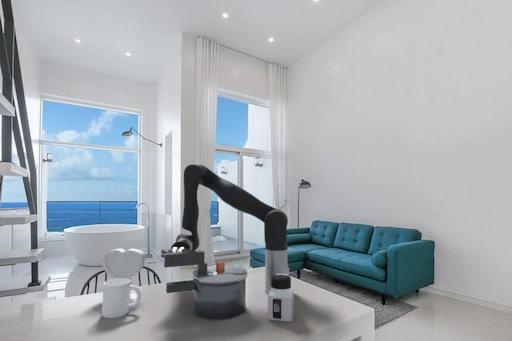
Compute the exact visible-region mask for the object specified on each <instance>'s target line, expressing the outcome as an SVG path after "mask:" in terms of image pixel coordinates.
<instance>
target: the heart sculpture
mask: <svg viewBox="0 0 512 341" xmlns="http://www.w3.org/2000/svg"><path fill="white" fill-rule="evenodd" d="M101 262H102V268H103V271H105V274H107V276H108V277H110V278H111V280H112V279H120V278H125V279H130V280H131V278H134V276H136V275H137V274H138V273H140V272H141V270H142V269H143V267H144V266H145V262H146V252H144V251H143V250H141V249H137V248H129V249H127V250H126V249H124V248H122V247H121V248H114V249H112V250H108V251H106V252H104V254H102V258H101ZM133 299H135V300H136V299H137V293H130V300H133Z"/></svg>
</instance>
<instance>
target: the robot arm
mask: <svg viewBox="0 0 512 341" xmlns="http://www.w3.org/2000/svg"><path fill="white" fill-rule="evenodd" d="M199 185H201V186H204V187H205V188H207V189H209V190H211V191H212V192H214V194H215V195H216V196H217V197H218V198H219V199H220V200H221V201H223V203H225V204H226V205H228V206H230V207H231V208H233V209H235V210H237V211H240V212H242V213H244V214H247V215H250V216H252V217H255V218H256V219H258V220H259V221H261V222H263V223H264V224H263V225H264V226H263V228H264V231H263V232H264V233H263V234H264V237H263V238H264V243H265V253H264V254H265V259H264V260H265V261H264V262H265V268H264V269H265V270H264V272H265V274H264V275H265V277H264V278H265V281H264V282H265V283H264V284H265V293H266V294H269V292H270V290H271V277H272V276H273V275H275V274H285V275H288V276H290V267H289V266H288V261H289V260H288V238H287V237H288V236H287V232H288V231H287V228H288V223H289V219H288V215H287V214H286V213H285V212H284V211H282V210H280V209H277V208H275V207H273V206H271V205H268V204H267V203H265V202H263V201H262V200H260V199H259V198H257V197H256V196H254V195H253V194H251V193H250V192H249V191H247V190H245V189H244V188H242V187H241V186H239V185H237V184H235V183H233V182H231V181H229V180H228V179H225V178H224V177H221V176H220V175H218V174H216V173H215V172H213V171H212V170H211V169H209V168H208V167H207V166H205V165H204V164H200V163H191V164H188V165H187V166H186V167H185V169H184V170H183V199H184V200H183V202H184V203H183V211H182V220H181V228H182V229H183V230H185V231H189V232H190V234H188V233H180V234H178V235H177V236H176V239H175V242H174V243H173V244H172V245H171V247H170V248H169V249H161V250H160V257H161V258H163V259H164V253H175V252H190V251H197V250H198V248H199V246H200V238H199V232H198V231H199V230H198V226H199V225H198V224H199V216H200V208H199V202H198V190H199Z"/></svg>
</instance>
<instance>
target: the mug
mask: <svg viewBox="0 0 512 341" xmlns="http://www.w3.org/2000/svg"><path fill="white" fill-rule="evenodd" d="M131 282H132V280H131V278H130V279H125V278H120V279H112V278H111V279H109V280H106V281H104V282H103V286H102V287H103V288H102V303H101V304H102V305H101V307H102V309H101V315H102V317H103V318H105V319H117V318H122V317H124V316H126V315H127V314H128V313H129V312H130V309H134V308H135V307H137V306H138V305H139V304H140V303H141V299H142V292H141V289H140V288H139V287H138V286H136V285H133V284H131ZM131 291H134V292H135V294H137V298H136V299H135V301H134V302H133V303H132V302H131V299H130V294H131Z"/></svg>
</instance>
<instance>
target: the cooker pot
mask: <svg viewBox="0 0 512 341" xmlns="http://www.w3.org/2000/svg"><path fill="white" fill-rule="evenodd" d="M246 281H247V278H246V279H244V280H242V281H240V282H236V283H230V284H204V283H200V282H197V281H195V280H194V279H191V280H180V281H172V282H171V281H169V282H166V283H165V284H166V286H165V287H166V288H165V291H166V292H165V293H166V294H173V293H174V294H175V293H184V292H190V291H191V292H193V303H192V304H193V308H192V309H193V311H192V312H193V314H194V315H195V316H196V317H198V318H200V319H203V320H209V321H224V320H231V319H234V318H238V317H240V316H241V315H242V314H244V313H245V312H246V309H247V308H246V296H247V293H246V290H247V288H246V284H247V282H246Z"/></svg>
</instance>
